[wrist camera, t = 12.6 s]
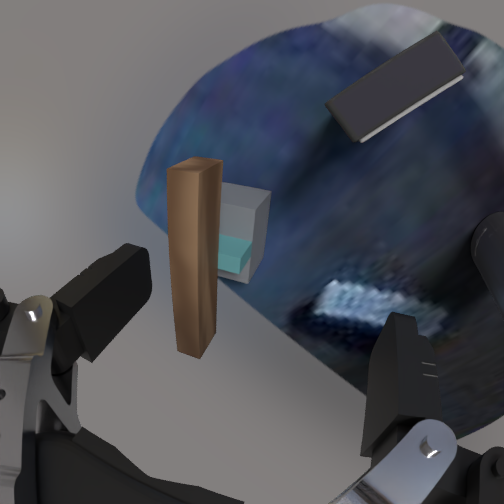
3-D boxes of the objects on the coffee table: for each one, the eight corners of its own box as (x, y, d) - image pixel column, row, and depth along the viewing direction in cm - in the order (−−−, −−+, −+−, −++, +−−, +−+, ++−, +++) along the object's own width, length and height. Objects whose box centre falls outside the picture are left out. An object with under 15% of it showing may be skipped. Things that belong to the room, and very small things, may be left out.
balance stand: (271, 191, 40) (243, 223, 30) (263, 257, 45) (237, 302, 35) (214, 180, 41) (172, 208, 32) (212, 244, 46) (175, 284, 37)
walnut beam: (223, 160, 28) (198, 173, 24) (216, 332, 39) (199, 359, 35) (194, 156, 29) (166, 168, 24) (195, 325, 40) (177, 351, 36)
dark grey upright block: (356, 132, 33) (359, 153, 20) (334, 103, 32) (322, 104, 19) (427, 85, 27) (474, 79, 15) (405, 55, 26) (439, 29, 14)
